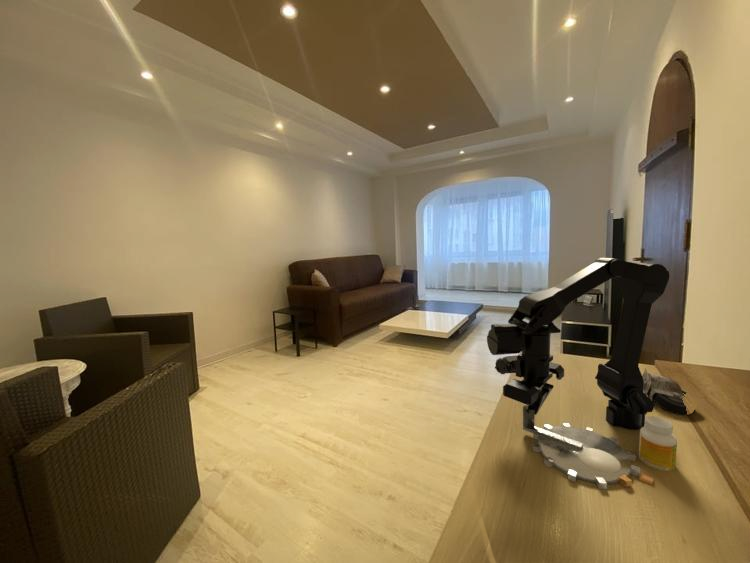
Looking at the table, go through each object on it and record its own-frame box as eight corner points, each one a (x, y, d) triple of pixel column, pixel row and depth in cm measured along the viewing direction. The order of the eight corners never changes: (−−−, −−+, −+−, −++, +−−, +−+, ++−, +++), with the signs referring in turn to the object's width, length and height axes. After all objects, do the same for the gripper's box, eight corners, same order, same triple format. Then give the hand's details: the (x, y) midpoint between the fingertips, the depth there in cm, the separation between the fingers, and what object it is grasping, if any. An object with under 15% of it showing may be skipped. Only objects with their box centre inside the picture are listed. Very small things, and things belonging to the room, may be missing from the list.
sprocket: (553, 415, 79) (553, 391, 78) (656, 462, 61) (658, 431, 60) (505, 441, 70) (505, 414, 69) (610, 506, 52) (611, 471, 51)
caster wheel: (696, 426, 77) (645, 412, 81) (681, 396, 86) (636, 385, 91) (706, 405, 74) (653, 392, 79) (690, 377, 84) (643, 367, 88)
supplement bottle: (678, 481, 58) (682, 433, 57) (641, 471, 61) (643, 425, 60) (670, 462, 63) (673, 418, 61) (636, 454, 65) (638, 411, 64)
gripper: (519, 333, 83) (519, 387, 85) (481, 353, 71) (481, 416, 74) (566, 343, 74) (563, 403, 77) (530, 368, 63) (529, 438, 65)
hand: (534, 413), depth 73 cm, fingers closed
